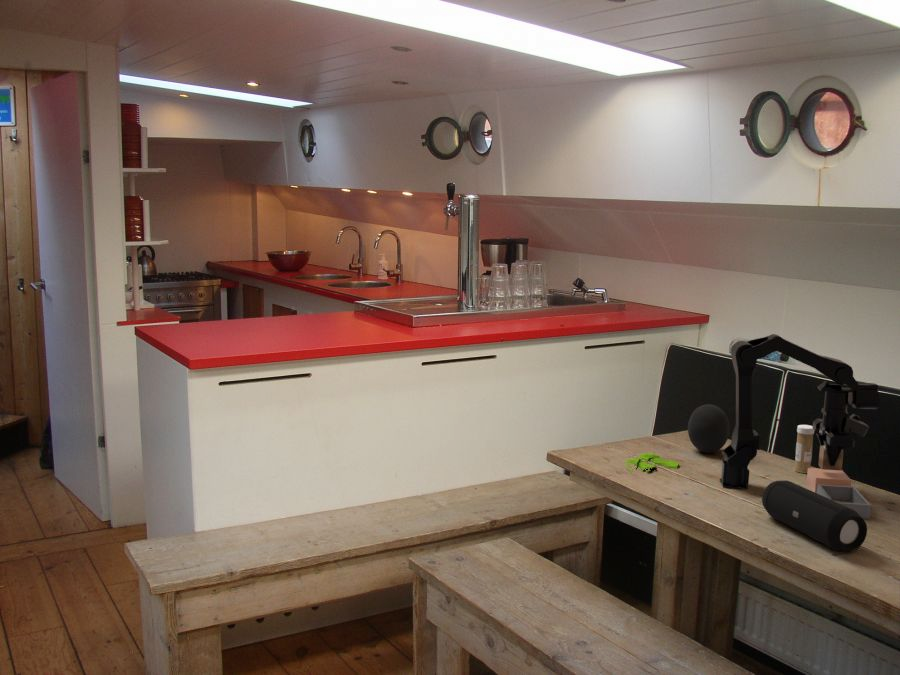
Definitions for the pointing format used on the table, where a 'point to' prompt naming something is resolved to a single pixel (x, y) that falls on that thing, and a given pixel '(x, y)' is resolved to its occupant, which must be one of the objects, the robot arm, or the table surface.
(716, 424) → the decorative egg
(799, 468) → the sprinkles bottle
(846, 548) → the portable speaker
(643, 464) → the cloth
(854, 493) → the charcoal bin
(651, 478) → the table surface
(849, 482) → the terracotta stand
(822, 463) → the walnut box
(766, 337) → the robot arm
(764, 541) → the table surface
